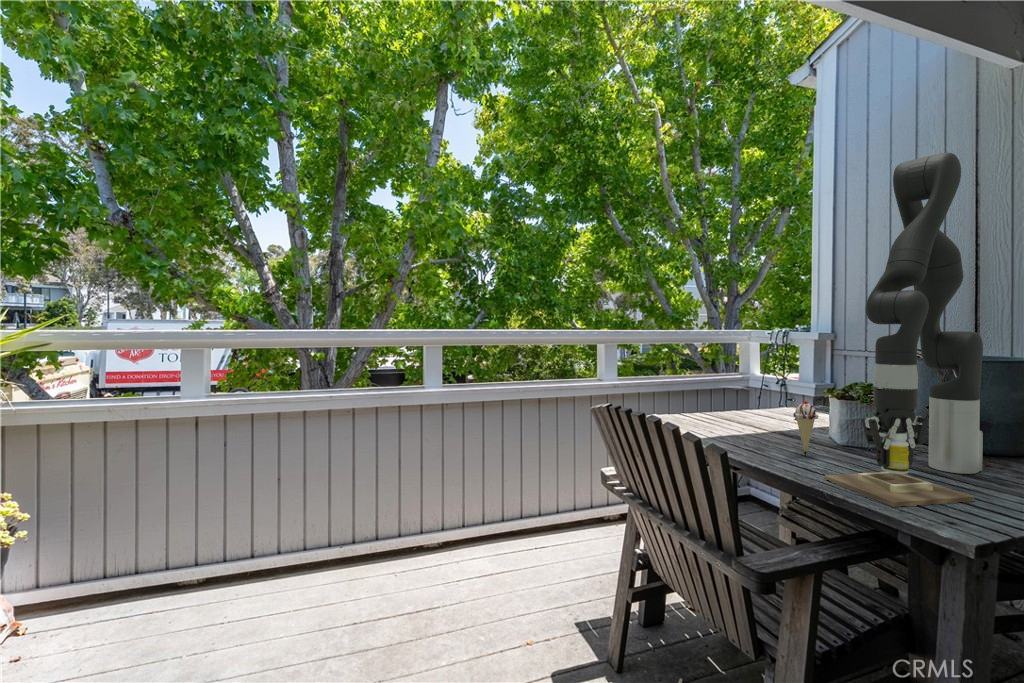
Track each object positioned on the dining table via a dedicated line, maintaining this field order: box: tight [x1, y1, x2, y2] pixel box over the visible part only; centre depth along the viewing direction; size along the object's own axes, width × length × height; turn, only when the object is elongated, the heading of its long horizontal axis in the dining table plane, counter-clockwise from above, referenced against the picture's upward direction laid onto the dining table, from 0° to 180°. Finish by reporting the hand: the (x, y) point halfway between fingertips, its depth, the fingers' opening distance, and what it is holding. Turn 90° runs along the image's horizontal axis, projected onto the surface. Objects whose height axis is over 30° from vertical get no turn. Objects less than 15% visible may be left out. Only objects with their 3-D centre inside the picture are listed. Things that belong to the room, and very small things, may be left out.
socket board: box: [824, 471, 976, 508], centre depth 109 cm, size 18×18×2 cm
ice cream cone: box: [793, 400, 819, 457], centre depth 136 cm, size 6×6×15 cm
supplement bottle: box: [880, 431, 910, 475], centre depth 108 cm, size 5×5×8 cm
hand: (894, 465), depth 108 cm, fingers closed on supplement bottle, 4 cm apart
